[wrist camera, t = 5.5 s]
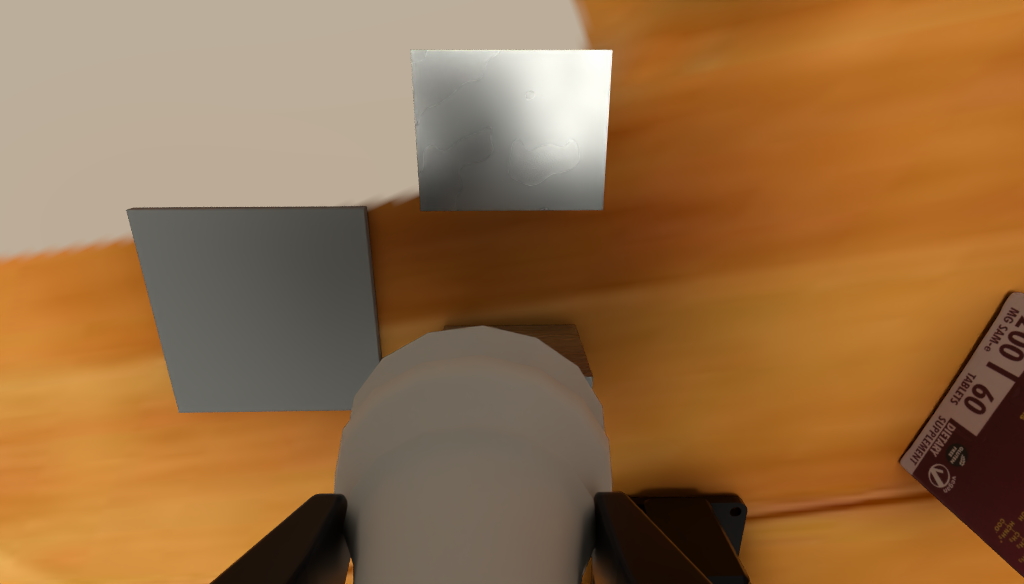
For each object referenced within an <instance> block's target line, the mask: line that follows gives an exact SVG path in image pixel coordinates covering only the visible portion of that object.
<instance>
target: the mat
mask: <svg viewBox="0 0 1024 584" xmlns="http://www.w3.org/2000/svg"><path fill="white" fill-rule="evenodd" d="M126 211H127V215H128V219H129V222H130V226H131V230H132V234H133V238H134V242H135V246H136V249H137V253H138V257H139V261H140V265H141V269H142V272H143V276H144V280H145V284H146V288H147V292H148V295H149V299H150V303H151V307H152V311H153V315H154V318H155V322H156V326H157V330H158V334H159V338H160V341H161V345H162V349H163V353H164V357H165V361H166V364H167V368H168V372H169V376H170V380H171V384H172V387H173V391H174V395H175V399H176V403H177V407H178V410H179V413H189V412H260V411H330V410H352V406H353V400H354V396H355V395H356V393H357V392H358V391H359V389H360V388H361V387H362V385H363V384H364V383H365V381H366V380H367V379H368V377H369V376H370V375H371V373H372V372H373V371H374V369H375V368H376V367H377V365H378V364H379V363H380V361H381V360H382V358H381V348H380V338H379V328H378V318H377V308H376V298H375V287H374V277H373V267H372V257H371V247H370V237H369V227H368V217H367V207H366V206H340V207H184V208H183V207H171V208H170V207H169V208H131V209H128V210H126Z"/></svg>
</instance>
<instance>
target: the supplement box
mask: <svg viewBox="0 0 1024 584" xmlns="http://www.w3.org/2000/svg"><path fill="white" fill-rule="evenodd" d="M900 464H901V466H902V467H903V468H904V469H905V470H906V471H907V472H909V473H910V474H911V475H912V476H913V477H914V478H915V479H916V480H917V481H919V482H920V483H921V484H922V485H923V486H924V487H925V488H926V489H927V490H928V491H929V492H930V493H932V494H933V495H934V496H935V497H936V498H937V499H938V500H939V501H940V502H941V503H942V504H943V505H944V506H946V507H947V508H948V509H949V510H950V511H951V512H952V513H953V514H955V515H956V516H957V517H958V518H959V519H960V520H961V521H962V522H963V523H964V524H966V525H967V526H968V527H969V528H970V529H971V530H972V531H973V532H974V533H976V534H977V535H978V536H979V537H980V538H981V539H982V540H983V541H984V542H985V543H986V544H987V545H989V546H990V547H991V548H992V549H993V550H994V551H995V552H996V553H997V554H998V555H999V556H1001V557H1002V558H1003V559H1004V560H1005V561H1006V562H1007V563H1008V564H1009V565H1010V566H1011V567H1012V568H1014V569H1015V570H1016V571H1017V572H1018V573H1019V574H1020V575H1021V576H1023V577H1024V294H1023V293H1019V292H1013V293H1012V294H1011V295H1010V296H1009V297H1008V299H1007V300H1006V302H1005V303H1004V305H1003V307H1002V309H1001V311H1000V313H999V315H998V317H997V318H996V320H995V321H994V323H993V325H992V326H991V328H990V329H989V331H988V332H987V334H986V335H985V337H984V338H983V340H982V341H981V343H980V345H979V346H978V348H977V349H976V351H975V352H974V354H973V355H972V357H971V359H970V360H969V362H968V363H967V365H966V366H965V368H964V369H963V371H962V372H961V374H960V375H959V377H958V378H957V380H956V382H955V383H954V384H953V386H952V387H951V389H950V391H949V392H948V394H947V395H946V397H945V398H944V400H943V401H942V402H941V404H940V405H939V407H938V408H937V410H936V412H935V413H934V415H933V416H932V417H931V419H930V420H929V422H928V423H927V425H926V426H925V427H924V429H923V430H922V432H921V433H920V435H919V436H918V438H917V439H916V440H915V442H914V443H913V445H912V446H911V448H910V449H909V450H908V451H907V452H906V453H905V455H904V456H903V457H902V459H901V460H900Z"/></svg>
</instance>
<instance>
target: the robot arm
mask: <svg viewBox="0 0 1024 584" xmlns="http://www.w3.org/2000/svg"><path fill="white" fill-rule="evenodd" d="M593 500H594V507H595V517H596V541H595V547H594V550H593V552H592V554H591V558H592V575H591V584H751V582H750V580H749V576H748V574H747V573H746V571H745V569H744V567H743V565H742V563H741V561H740V559H739V557H738V556H739V551H740V545H741V540H742V535H743V530H744V525H745V520H746V515H747V507H746V506H745V504H744V502H743V501H742V499H741V498H739V497H737V496H701V497H646V498H629V497H628V496H627V495H626V494H625V493H623V492H597V493H596V494H595V496H594V499H593ZM347 506H348V503H347V499H346V497H345V496H344V495H343V494H316V495H314V496H312V497H311V498H310V499H308V500H307V501H306V502H305V503H304V504H303V505H301V506H300V507H299V508H298V509H297V510H296V511H294V512H293V513H292V514H291V515H290V516H288V517H287V518H286V519H285V520H284V521H283V522H281V523H280V524H279V525H278V526H277V527H276V528H274V529H273V530H272V531H271V532H270V533H269V534H267V535H266V536H265V537H264V538H263V539H261V540H260V541H259V542H258V543H257V544H256V545H254V546H253V547H252V548H251V549H250V550H249V551H247V552H246V553H245V554H244V555H243V556H242V557H240V558H239V559H238V560H237V561H236V562H234V563H233V564H232V565H231V566H230V567H229V568H227V569H226V570H225V571H224V572H223V573H222V574H220V575H219V576H218V577H217V578H216V579H215V580H213V581H212V582H211V583H210V584H345V580H346V576H347V571H348V567H349V562H350V557H351V556H350V553H349V550H348V547H347V543H346V540H345V537H344V534H343V527H344V521H345V516H346V511H347ZM735 507H736V508H735ZM732 508H735V509H732ZM731 509H732V510H731Z"/></svg>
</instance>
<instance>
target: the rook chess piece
mask: <svg viewBox="0 0 1024 584" xmlns="http://www.w3.org/2000/svg"><path fill="white" fill-rule="evenodd" d="M612 485H613V483H612V472H611V460H610V448H609V439H608V437H607V436H606V434H605V430H604V418H603V407H602V405H601V403H600V402H599V400H598V398H597V397H596V395H595V393H594V392H593V390H592V388H591V387H590V385H589V384H588V382H587V380H586V379H585V377H584V375H583V374H582V372H581V370H580V369H579V367H578V366H576V365H575V364H574V363H572V362H571V361H569V360H568V359H566V358H565V357H563V356H562V355H561V354H559V353H558V352H556V351H555V350H553V349H552V348H550V347H549V346H548V345H546V344H545V343H543V342H542V341H540V340H539V339H537V338H535V337H531V336H527V335H522V334H518V333H514V332H509V331H505V330H501V329H496V328H492V327H488V326H483V325H482V326H475V327H467V328H460V329H452V330H445V331H438V332H430V333H427V334H425V335H423V336H422V337H420V338H418V339H416V340H414V341H413V342H411V343H409V344H407V345H405V346H404V347H402V348H400V349H398V350H397V351H395V352H393V353H391V354H389V355H388V356H386V357H384V358H383V359H382V360H381V361H380V363H379V364H378V365H377V367H376V368H375V369H374V371H373V372H372V373H371V375H370V376H369V377H368V379H367V380H366V381H365V383H364V384H363V385H362V387H361V388H360V389H359V391H358V392H357V393H356V395H355V396H354V400H353V406H352V411H351V417H350V421H349V422H348V423H347V425H346V426H345V427H344V429H343V432H342V438H341V443H340V449H339V454H338V460H337V466H336V471H335V488H334V493H335V494H343V495H344V496H345V497H346V499H347V503H348V506H347V511H346V516H345V521H344V527H343V534H344V537H345V540H346V543H347V547H348V550H349V553H350V556H351V559H352V562H353V584H581V582H582V576H583V574H584V572H585V569H586V567H587V564H588V562H589V559H590V557H591V554H592V552H593V550H594V547H595V541H596V517H595V507H594V500H593V499H594V496H595V494H596V493H597V492H612Z"/></svg>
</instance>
